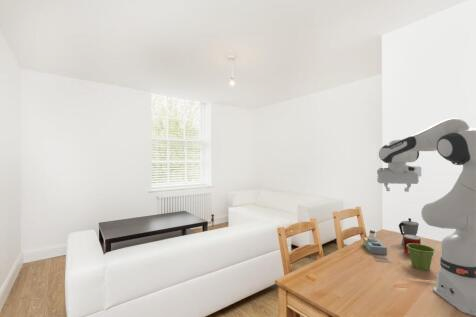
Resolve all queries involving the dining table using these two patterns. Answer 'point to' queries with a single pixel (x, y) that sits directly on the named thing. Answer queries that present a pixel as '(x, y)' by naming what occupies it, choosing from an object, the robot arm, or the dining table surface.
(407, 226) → the coffeepot
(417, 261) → the plant pot
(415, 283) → the dining table surface
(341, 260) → the dining table surface
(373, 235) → the plug
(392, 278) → the dining table surface
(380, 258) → the deck
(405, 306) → the dining table surface
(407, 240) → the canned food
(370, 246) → the socket box
